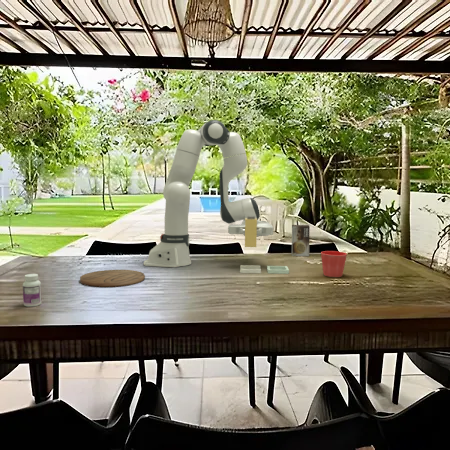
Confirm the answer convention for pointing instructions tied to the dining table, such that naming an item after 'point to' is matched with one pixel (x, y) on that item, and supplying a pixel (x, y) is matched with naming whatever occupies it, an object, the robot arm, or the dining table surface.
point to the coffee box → (300, 240)
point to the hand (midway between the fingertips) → (250, 231)
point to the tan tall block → (250, 231)
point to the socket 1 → (250, 269)
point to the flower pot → (333, 263)
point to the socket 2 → (278, 269)
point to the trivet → (112, 278)
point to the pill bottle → (32, 291)
